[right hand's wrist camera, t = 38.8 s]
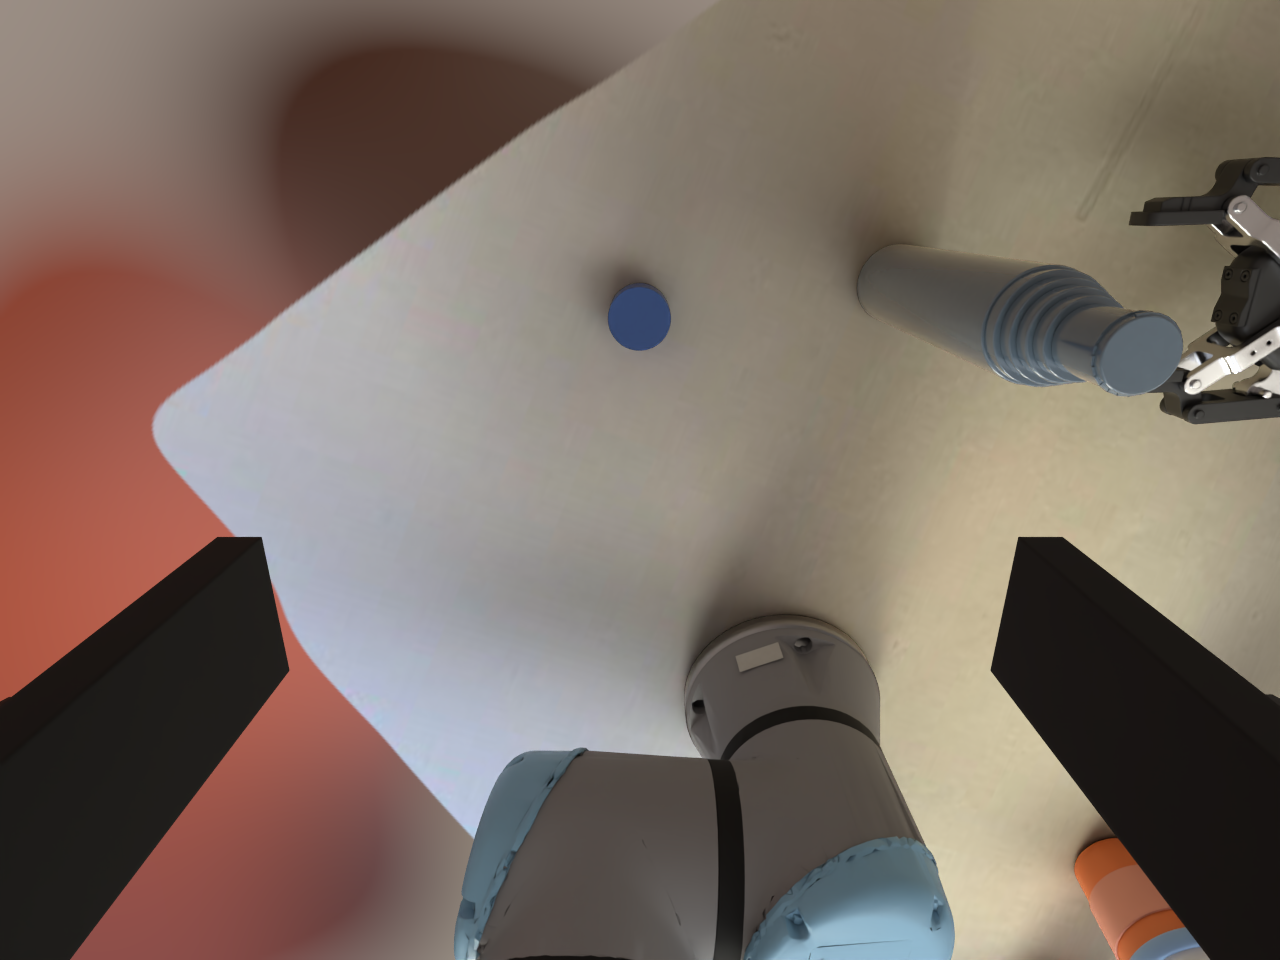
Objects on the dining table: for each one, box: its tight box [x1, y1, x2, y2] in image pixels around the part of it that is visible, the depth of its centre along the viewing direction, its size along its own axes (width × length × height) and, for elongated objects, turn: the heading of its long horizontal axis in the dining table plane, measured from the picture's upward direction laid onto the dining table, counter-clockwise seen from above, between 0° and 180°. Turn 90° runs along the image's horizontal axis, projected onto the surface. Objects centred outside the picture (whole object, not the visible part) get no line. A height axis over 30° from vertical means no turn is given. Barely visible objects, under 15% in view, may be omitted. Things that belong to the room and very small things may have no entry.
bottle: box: [857, 244, 1183, 397], centre depth 35 cm, size 5×5×24 cm
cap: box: [608, 283, 671, 350], centre depth 46 cm, size 4×4×2 cm
